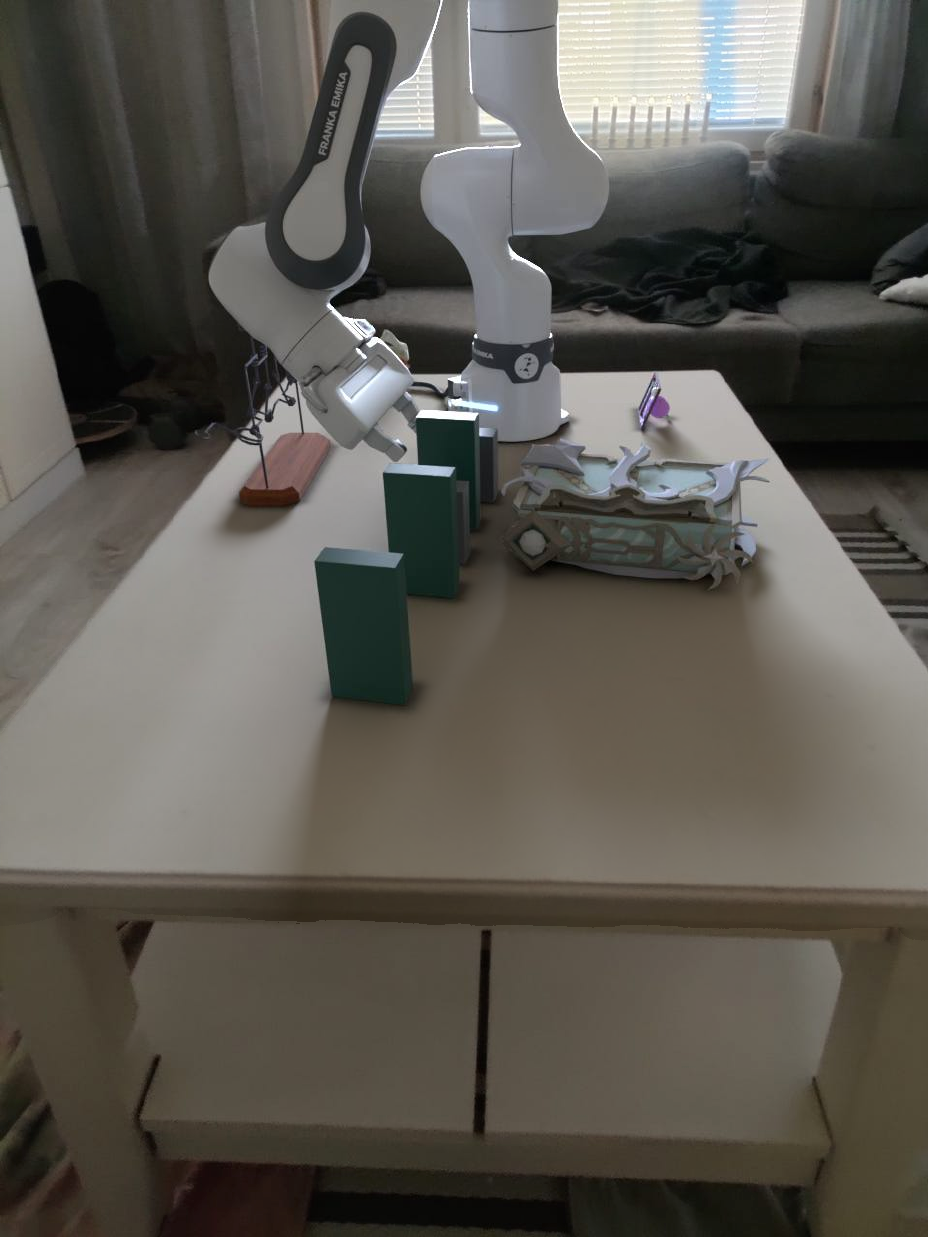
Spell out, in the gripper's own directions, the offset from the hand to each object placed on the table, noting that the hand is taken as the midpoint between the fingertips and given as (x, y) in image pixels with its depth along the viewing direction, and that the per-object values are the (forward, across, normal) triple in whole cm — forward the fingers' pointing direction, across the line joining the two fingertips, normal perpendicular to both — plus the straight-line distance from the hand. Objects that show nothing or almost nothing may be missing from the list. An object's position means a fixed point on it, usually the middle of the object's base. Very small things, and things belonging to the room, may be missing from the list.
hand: (413, 442), depth 106 cm
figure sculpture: (-8, +10, +23) cm, 27 cm away
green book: (+10, 0, +4) cm, 11 cm away
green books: (+11, -26, +4) cm, 28 cm away
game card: (+27, +42, -12) cm, 51 cm away
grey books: (+10, 0, +4) cm, 11 cm away
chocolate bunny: (-6, +53, +21) cm, 58 cm away
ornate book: (+26, -1, -11) cm, 29 cm away
